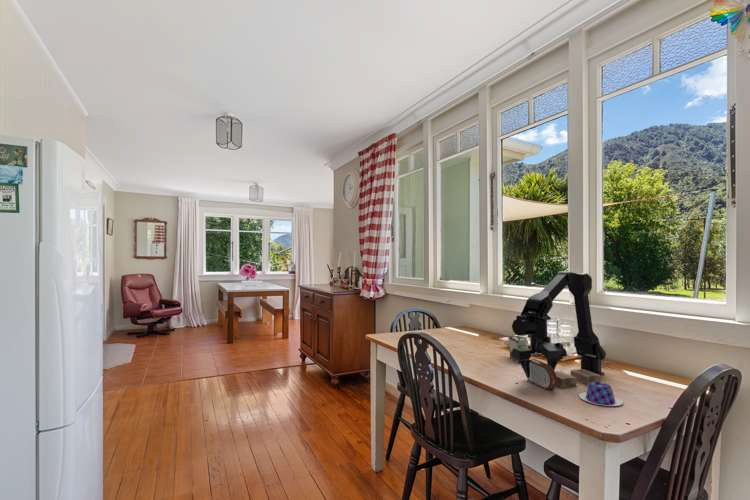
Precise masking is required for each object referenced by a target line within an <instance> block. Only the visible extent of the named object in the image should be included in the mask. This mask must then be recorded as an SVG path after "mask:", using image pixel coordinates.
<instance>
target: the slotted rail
mask: <svg viewBox="0 0 750 500" xmlns="http://www.w3.org/2000/svg"><path fill="white" fill-rule="evenodd" d="M579 369H580V370H579ZM579 369H570V374H569V373H566V372H563V371H562V370H558V371H555V373H556V376H557V386H558V387H560V388H571V387H573V388H574V387H577V386H578V385H577V382H579V383H580V384H583V385H586V386H589V384H590V383H592V382H601V383H602V376H601V375H602V374H600V375H598V374H595V373H593V372H590V371H587V370H585V369H581V368H579Z"/></svg>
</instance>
